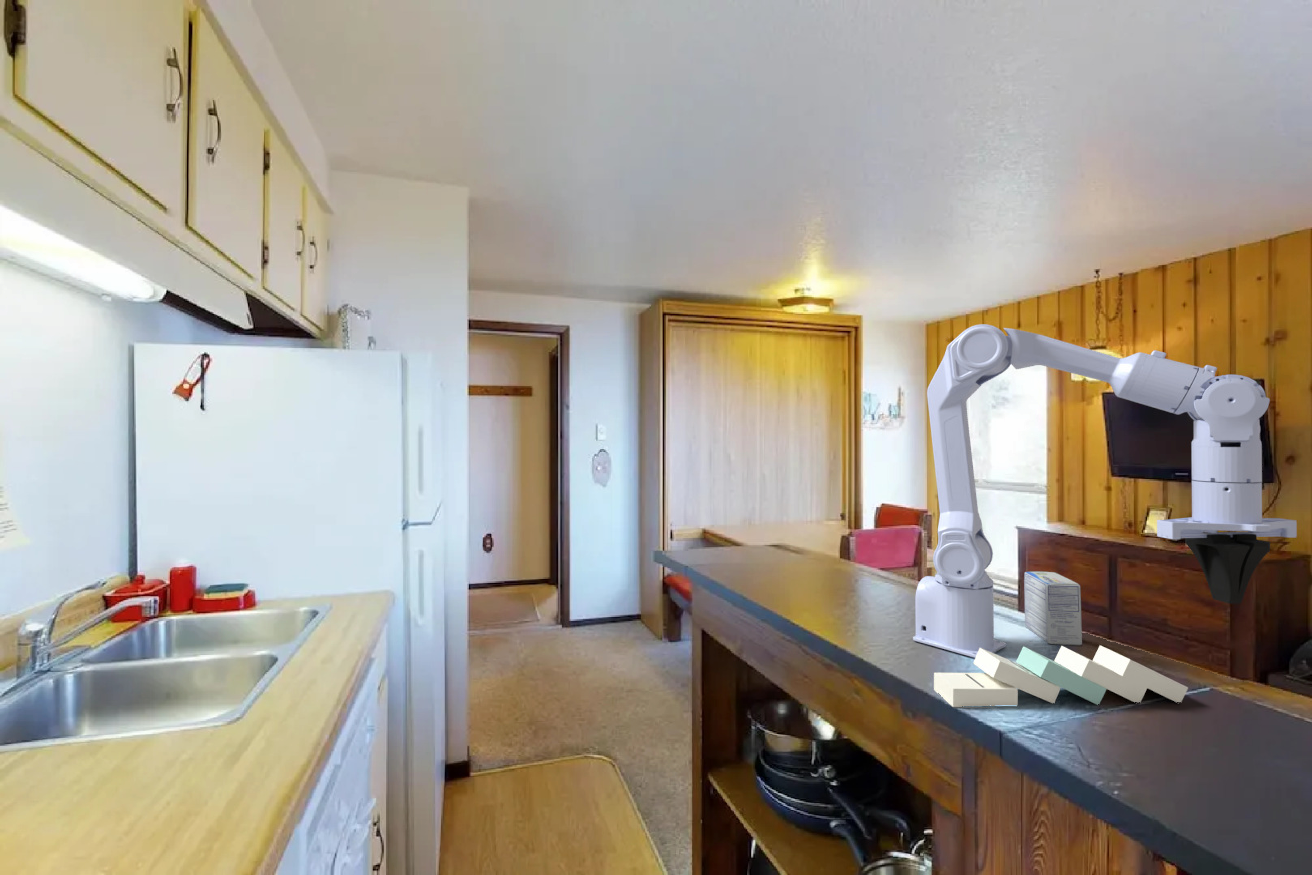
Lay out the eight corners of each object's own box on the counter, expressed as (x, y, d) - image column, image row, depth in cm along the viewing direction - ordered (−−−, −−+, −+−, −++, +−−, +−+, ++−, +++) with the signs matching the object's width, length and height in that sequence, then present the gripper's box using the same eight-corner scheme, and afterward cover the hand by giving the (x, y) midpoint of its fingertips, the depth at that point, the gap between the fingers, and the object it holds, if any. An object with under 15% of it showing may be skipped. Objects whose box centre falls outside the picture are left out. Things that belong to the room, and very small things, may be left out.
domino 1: (994, 672, 68) (934, 672, 68) (1017, 688, 64) (953, 688, 64) (994, 690, 68) (933, 689, 68) (1017, 707, 64) (953, 707, 64)
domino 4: (1115, 671, 68) (1061, 645, 68) (1147, 687, 64) (1089, 659, 64) (1108, 687, 68) (1054, 661, 68) (1139, 704, 64) (1081, 676, 64)
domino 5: (1154, 671, 68) (1100, 644, 68) (1188, 687, 64) (1130, 659, 64) (1146, 687, 68) (1092, 660, 68) (1180, 704, 64) (1122, 676, 64)
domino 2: (1036, 671, 68) (979, 647, 69) (1061, 686, 64) (1000, 660, 64) (1029, 687, 68) (973, 663, 69) (1053, 704, 64) (992, 678, 64)
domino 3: (1077, 672, 68) (1023, 646, 68) (1106, 688, 64) (1048, 660, 64) (1070, 688, 68) (1015, 661, 68) (1098, 705, 64) (1040, 677, 64)
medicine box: (1082, 646, 81) (1082, 584, 81) (1047, 644, 82) (1046, 583, 82) (1056, 628, 89) (1055, 571, 89) (1023, 626, 90) (1023, 570, 90)
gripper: (1198, 485, 62) (1199, 612, 62) (1328, 483, 63) (1329, 610, 63) (1140, 480, 69) (1141, 595, 69) (1258, 478, 70) (1259, 592, 70)
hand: (1226, 601), depth 66 cm, fingers closed
